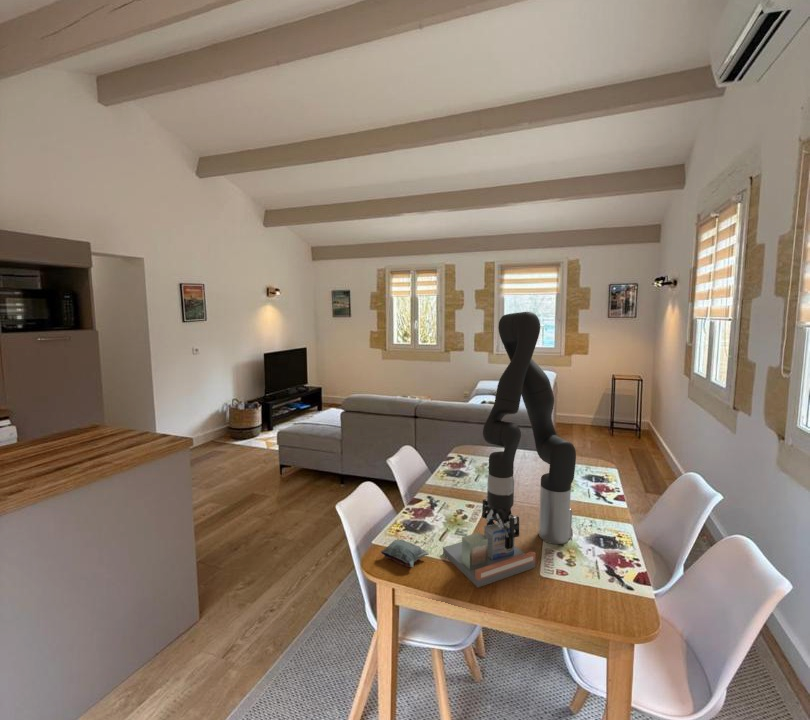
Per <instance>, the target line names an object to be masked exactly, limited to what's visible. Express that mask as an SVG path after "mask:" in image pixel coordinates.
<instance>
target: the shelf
mask: <svg viewBox="0 0 810 720" xmlns="http://www.w3.org/2000/svg"><path fill="white" fill-rule="evenodd" d="M442 553H443V555H444V556H445V557H446V558H447V559H448V560H449V561H450V563H452V564H453V565H454V566H455V567H456V568H457V569H458V570H459V571H460V572H461V573H462V575H464V576H465V577H466V578H467V579H468V580H469V581H471V583H472V584H474V586H475V587H476V588H481V587H483V586H487V585H489V584H493V583H494V582H495V583H496V582H498V581H501V580H504V579H507V578H510V577H511V576H512V577H513V576H515V575H518V574H521V573H523V572H526V571H529V570H532V569H535V568H536V552H534V550H533V551H529V552H527V553H525V552H523V550H521V548H518V547H517V546H515V545H514V554H512V555H509V556H505V557H502V558H499V559H495V560H492V559H491V558H490V557H489V556H488V563H487V566H484V567H481V568H478V569H475V570H471V571H469V570H468V569H467V568H466V567H465V566H464V565H463V564H462V541H461V542H457V543H455V544H450V545H448V546H443V547H442Z"/></svg>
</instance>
